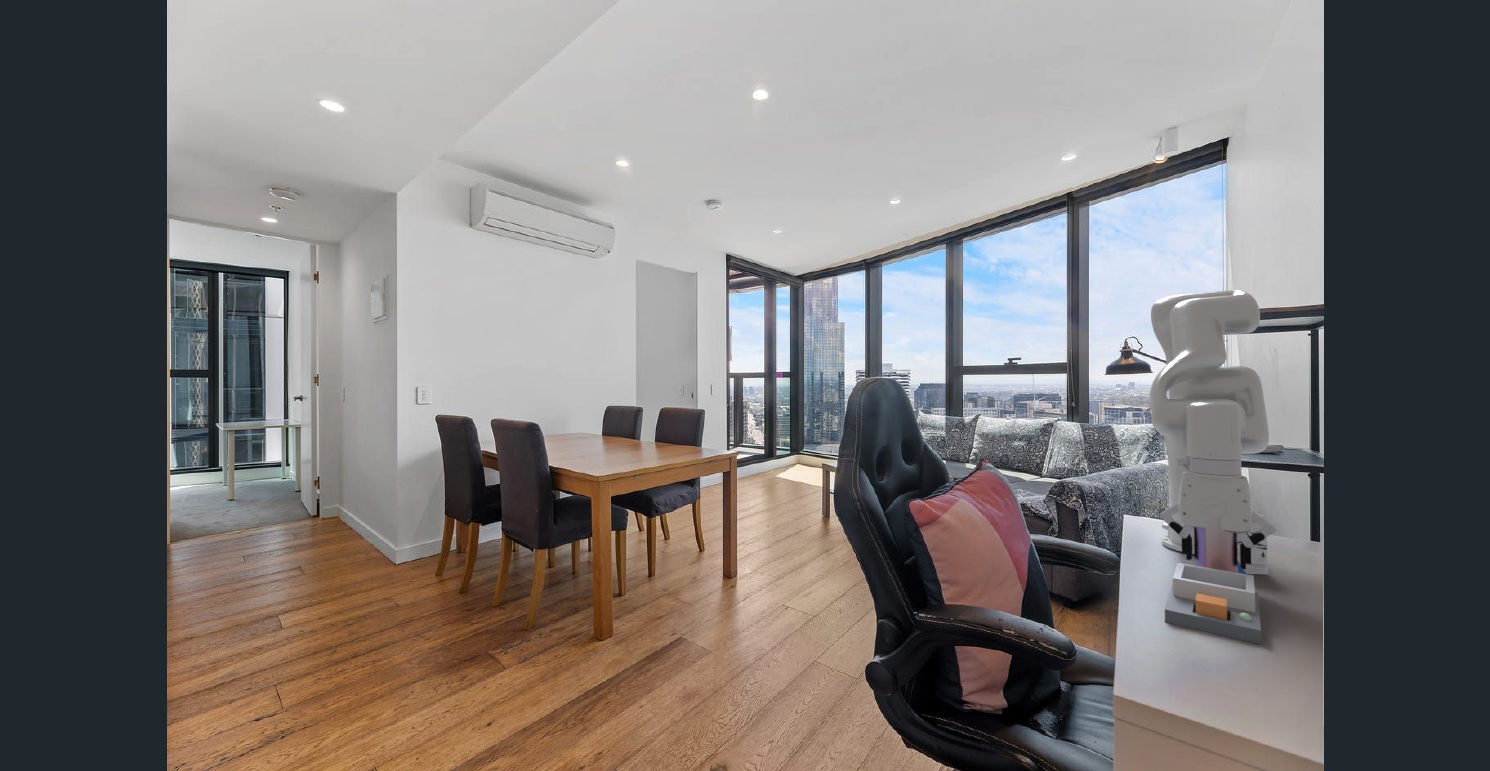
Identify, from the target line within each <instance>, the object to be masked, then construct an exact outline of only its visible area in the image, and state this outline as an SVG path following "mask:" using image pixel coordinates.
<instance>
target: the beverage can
mask: <svg viewBox="0 0 1490 771" xmlns="http://www.w3.org/2000/svg"><path fill="white" fill-rule="evenodd" d="M1213 510H1214V509H1213ZM1216 511H1218V510H1217V509H1216ZM1216 511H1211V512H1208V515H1207V514H1206V515H1207V516H1208V522H1207V528H1195V527H1194V554H1193V555H1194V565H1195V566H1201V567H1206V568H1212V569H1218V570H1224V571H1230V572H1236V573H1238V560H1237V533H1233V532H1227V531H1224V530H1222V529H1221V517H1223V516H1220V515H1221V514H1219V513H1218V512H1216Z"/></svg>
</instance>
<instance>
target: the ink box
mask: <svg viewBox="0 0 1490 771" xmlns="http://www.w3.org/2000/svg"><path fill="white" fill-rule="evenodd" d="M1257 514H1258V515H1260V516H1261V517H1262V518H1264V519H1265V520H1267V516H1266V515H1264V514H1260V513H1257ZM1261 529H1262V527H1261V526H1260V525H1258V524H1257V523H1256V522H1254V521H1253V528H1252V530H1251V531H1250V532H1248V534H1249V536H1251V535H1253V534H1254V533H1256V532H1258V531H1260V530H1261ZM1267 542H1268V541H1267V537H1266V538H1265V539H1264V540H1262V541H1261V542H1259V543H1257V544H1255V545H1254V546H1253V547H1251V564H1246V569H1242V568H1241V564H1240V544H1242V541H1241V539H1240V538H1239V536H1238V535H1237V560H1238V573H1241V574H1247V575H1268V574H1269V571H1268V570H1269V568H1268V567H1269V566H1268V564H1269V563H1268V543H1267Z"/></svg>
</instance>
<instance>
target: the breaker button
mask: <svg viewBox="0 0 1490 771" xmlns="http://www.w3.org/2000/svg"><path fill="white" fill-rule="evenodd" d="M1195 602H1196V613H1197V614H1201V615H1206V616H1211V617H1215V618H1220V619H1224V620H1227V599H1223V598H1218V597H1213V596H1208V595H1203V594H1198V593H1197V595H1196V600H1195Z"/></svg>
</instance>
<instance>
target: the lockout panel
mask: <svg viewBox="0 0 1490 771" xmlns="http://www.w3.org/2000/svg"><path fill="white" fill-rule="evenodd" d="M1254 578H1255V575H1254V574H1241V573H1236V572H1230V571H1224V570H1218V569H1212V568H1206V567H1201V566H1195V564H1188V563H1181V562H1177V564H1176V567H1175V570H1174V574H1173V576H1172V585H1171V588H1170V591H1169V595H1168V598H1167V601H1166V605H1165V607H1164V622H1165V623H1170V624H1173V625H1178V626H1182V627H1186V628H1191V629H1194V630H1199V631H1203V632H1208V633H1211V634H1216V635H1220V636H1224V637H1229V638H1233V639H1237V640H1242V641H1246V642H1250V643H1255V644H1259V645H1262V625H1261V612H1260V602H1259V592H1256V590H1255V579H1254ZM1197 593H1198V594H1203V595H1208V596H1213V597H1218V598H1223V599H1227V620H1224V619H1220V618H1215V617H1211V616H1206V615H1201V614H1197V613H1196V602H1195V600H1196V595H1197Z"/></svg>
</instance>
